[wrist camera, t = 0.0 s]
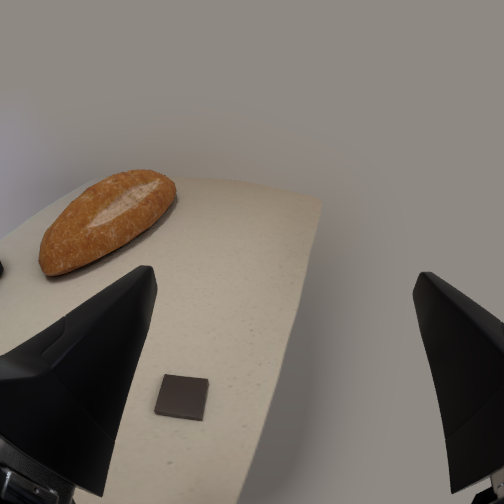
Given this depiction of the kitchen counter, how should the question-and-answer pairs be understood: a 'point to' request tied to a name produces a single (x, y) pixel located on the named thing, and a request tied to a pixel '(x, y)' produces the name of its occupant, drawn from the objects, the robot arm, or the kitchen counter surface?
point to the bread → (105, 219)
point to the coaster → (182, 397)
